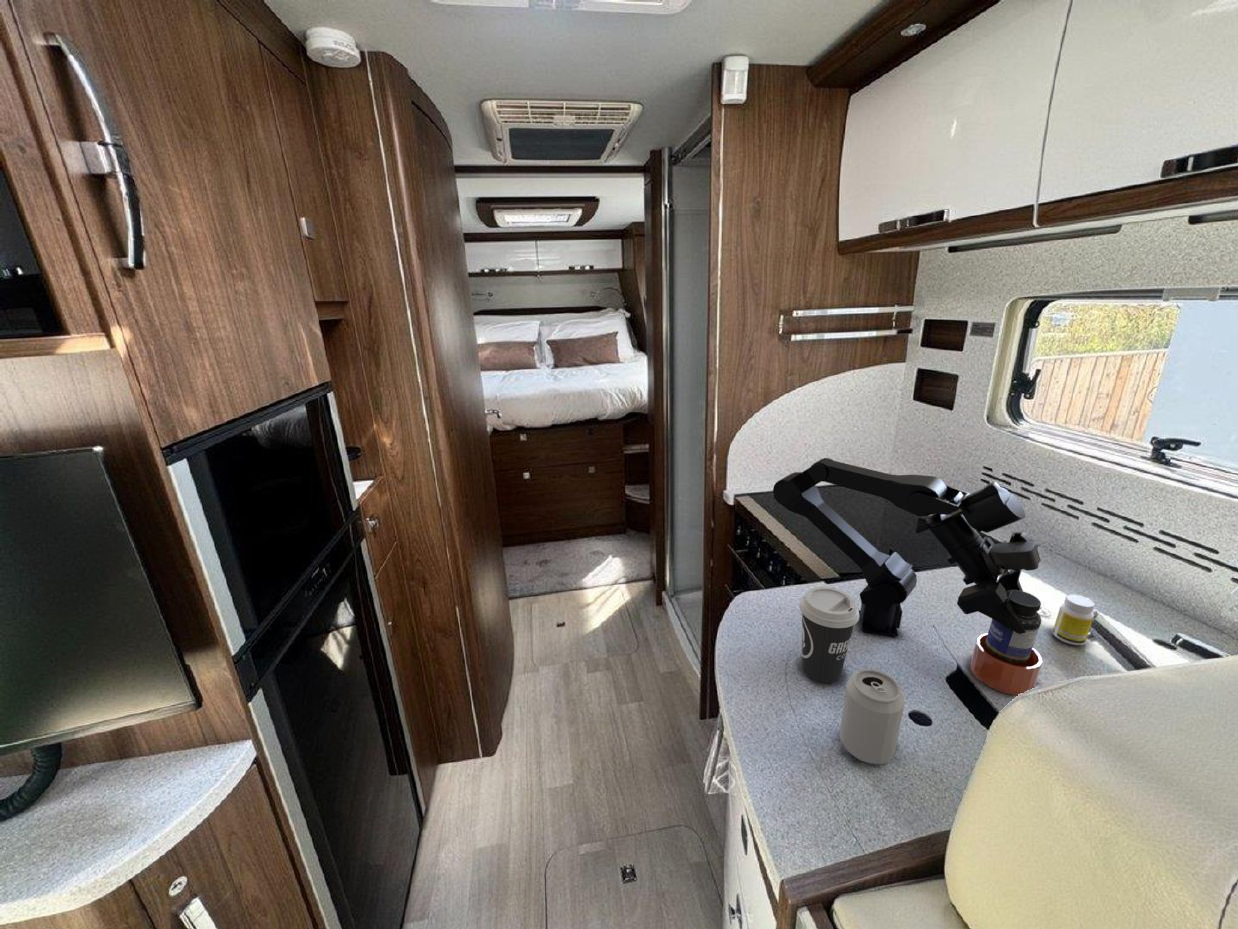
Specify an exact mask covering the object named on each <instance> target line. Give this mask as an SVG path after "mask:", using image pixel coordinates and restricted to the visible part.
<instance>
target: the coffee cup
mask: <svg viewBox="0 0 1238 929" xmlns="http://www.w3.org/2000/svg"><path fill="white" fill-rule="evenodd" d="M798 607H799V610H800V612H801V639H802V640H801V668H802V671H803V673H804V674H805V676H807V677H808V678H809V679H811V680H812V681H815V682H816V683H819V684H827V685H828V684H834V683H836V682H838V681H839V680H840V679H841V676H842V673H843V668H844V665H845V661H846V657H847V653H848V650H849V646H850V643H851V639H852V636H853V631H854V629H855V625H856V624H857V623H858V622H859V621H860V620H859V611H860V610H859V608H858V606H857V605H856V601H855V599H854V598H853V597H852V596H851V595H850V594H848V593H847V592H845V591H843V590H841V589H838V588H836V587H835V588H834V587H831V586H815V587H812V588H810V589H808V590H807V591H806V593H805V594H804V595H802V598H801V599H800V601H799V604H798Z"/></svg>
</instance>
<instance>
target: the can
mask: <svg viewBox="0 0 1238 929" xmlns="http://www.w3.org/2000/svg"><path fill="white" fill-rule="evenodd" d="M844 693H845V694H844V701H843V708H842V715H841V721H840V728H839V739H840V742H841V744H842V746H843V747H844V748H845V750H846V751H847V752H848V753H849V754H851V755H852V756H853V757H854V758H856V759H857V760H859V761H861V762H862V763H863V762H864V763H867V764H870V765H882V764H888V763H889V762H890V761H892V760H893V758H894V756H895V753H896V749H897V745H898V739H899V734H900V729H901V724H902V719H903V715H904V709H905V705H906V704H905V703H906V702H905V696H904V694H903V692H902V688H901V686H900V684H899V683H898V682H897V680H895V679H894V678H893V677H891V676H890V675H889V674H888V673H885V672H884V671H881V670H877V669H873V668H863V669H858V670H857V671H856V672H855V673H854V674H853V675H851V677H849V679H848V680H847V682H846V688H845V692H844Z"/></svg>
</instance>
